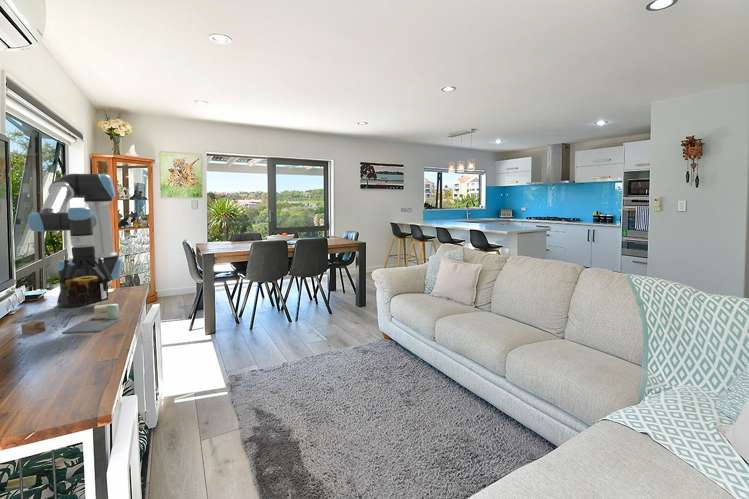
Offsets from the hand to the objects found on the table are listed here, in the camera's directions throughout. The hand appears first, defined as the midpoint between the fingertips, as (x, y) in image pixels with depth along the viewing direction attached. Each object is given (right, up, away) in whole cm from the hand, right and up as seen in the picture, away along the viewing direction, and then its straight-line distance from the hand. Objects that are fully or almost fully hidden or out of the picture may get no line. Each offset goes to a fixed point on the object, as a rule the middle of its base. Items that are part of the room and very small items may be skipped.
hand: (88, 299), depth 165 cm
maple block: (-5, -10, +16) cm, 19 cm away
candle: (0, -1, 0) cm, 1 cm away
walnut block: (-19, -13, -4) cm, 23 cm away
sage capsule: (+1, -10, +14) cm, 17 cm away
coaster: (0, -12, +2) cm, 12 cm away
